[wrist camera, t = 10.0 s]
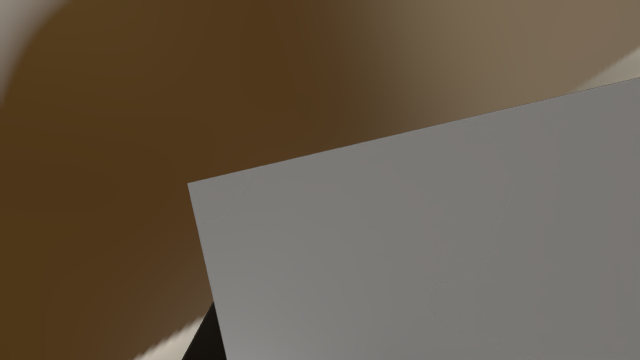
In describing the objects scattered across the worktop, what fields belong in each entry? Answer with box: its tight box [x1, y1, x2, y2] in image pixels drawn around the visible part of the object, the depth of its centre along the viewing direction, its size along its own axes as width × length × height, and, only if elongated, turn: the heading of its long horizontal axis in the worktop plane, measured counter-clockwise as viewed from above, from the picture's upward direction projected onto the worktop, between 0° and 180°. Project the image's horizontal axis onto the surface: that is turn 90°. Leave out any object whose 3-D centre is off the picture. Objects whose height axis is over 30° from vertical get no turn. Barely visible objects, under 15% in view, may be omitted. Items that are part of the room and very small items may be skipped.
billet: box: [188, 77, 640, 360], centre depth 9 cm, size 4×4×13 cm
